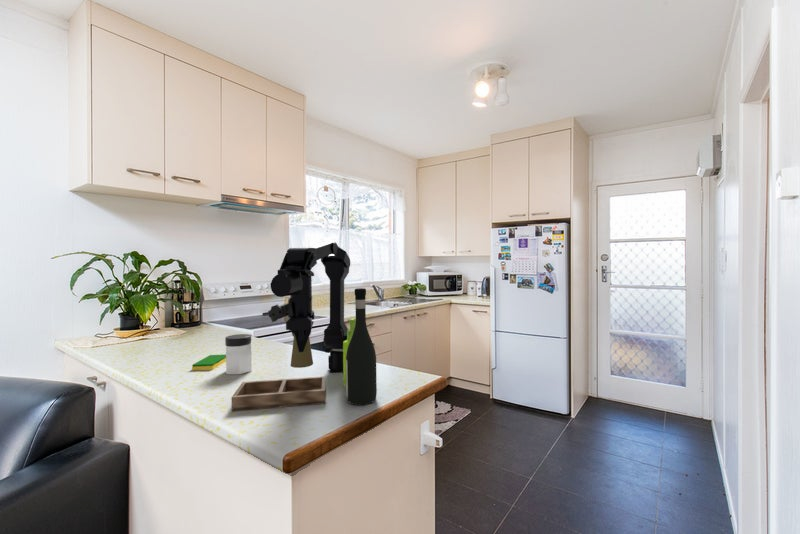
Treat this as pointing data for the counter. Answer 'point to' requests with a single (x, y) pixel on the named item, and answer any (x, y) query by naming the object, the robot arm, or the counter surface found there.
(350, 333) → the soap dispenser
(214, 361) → the dish sponge
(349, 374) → the wine bottle
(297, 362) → the cork
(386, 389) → the counter surface
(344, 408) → the counter surface
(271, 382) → the holder
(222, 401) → the counter surface
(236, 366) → the jar
